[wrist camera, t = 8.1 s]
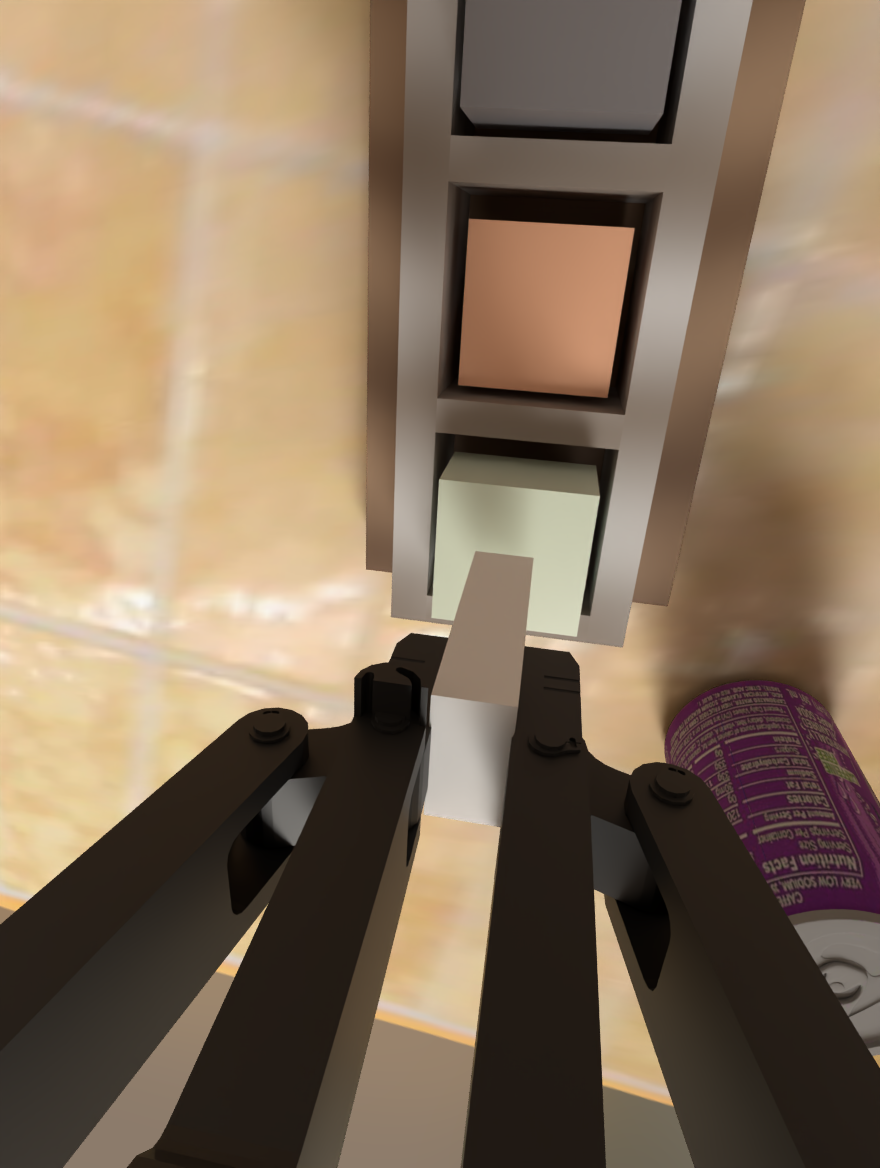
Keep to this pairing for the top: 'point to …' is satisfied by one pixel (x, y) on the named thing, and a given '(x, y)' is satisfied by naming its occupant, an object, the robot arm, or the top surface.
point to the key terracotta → (542, 306)
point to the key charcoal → (568, 64)
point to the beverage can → (797, 823)
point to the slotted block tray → (650, 305)
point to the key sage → (517, 531)
